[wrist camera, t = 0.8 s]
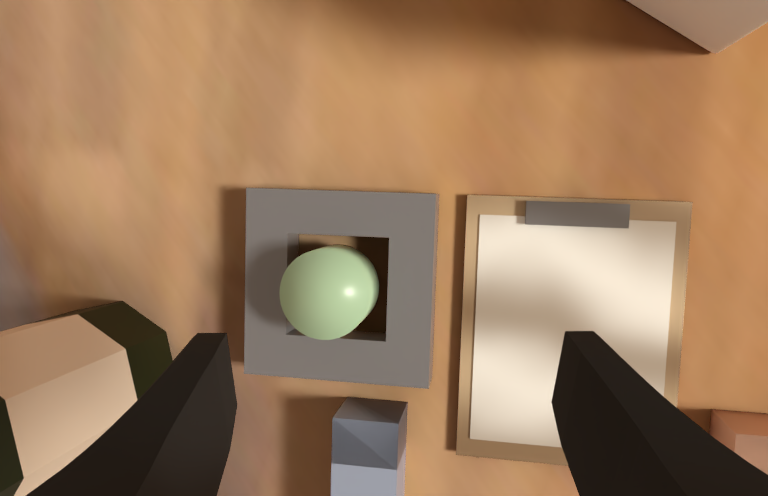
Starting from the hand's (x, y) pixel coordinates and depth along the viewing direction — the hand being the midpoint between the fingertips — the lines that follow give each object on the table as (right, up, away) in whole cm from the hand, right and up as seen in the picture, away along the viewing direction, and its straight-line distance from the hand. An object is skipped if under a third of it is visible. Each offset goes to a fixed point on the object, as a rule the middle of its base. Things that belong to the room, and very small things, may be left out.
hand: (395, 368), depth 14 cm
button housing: (-2, +1, +21) cm, 22 cm away
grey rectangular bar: (-1, -11, +22) cm, 25 cm away
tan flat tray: (+9, -2, +20) cm, 22 cm away
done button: (-3, +1, +20) cm, 20 cm away
